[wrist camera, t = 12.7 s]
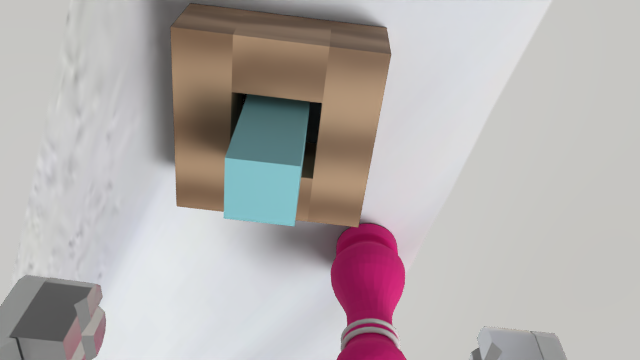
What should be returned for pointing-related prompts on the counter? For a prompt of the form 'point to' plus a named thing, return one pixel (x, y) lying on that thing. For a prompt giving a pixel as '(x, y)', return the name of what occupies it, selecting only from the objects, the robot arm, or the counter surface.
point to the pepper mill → (368, 292)
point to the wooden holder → (282, 82)
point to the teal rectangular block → (266, 160)
